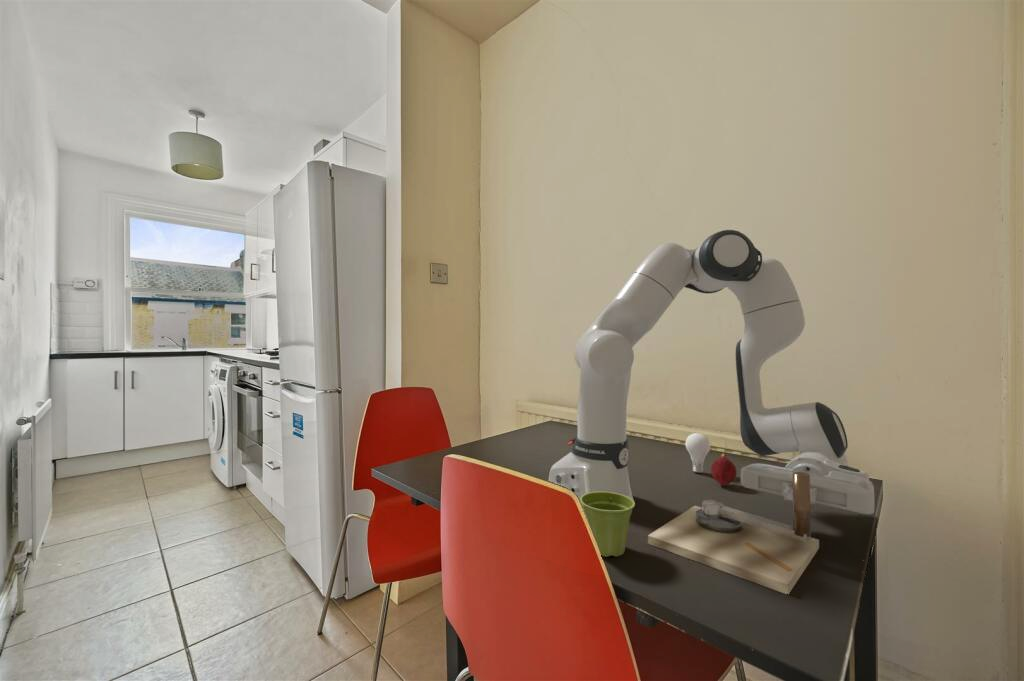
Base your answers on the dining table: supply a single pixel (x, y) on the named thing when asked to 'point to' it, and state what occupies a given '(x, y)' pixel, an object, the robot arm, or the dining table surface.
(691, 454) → the lightbulb
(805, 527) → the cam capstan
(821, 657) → the dining table surface
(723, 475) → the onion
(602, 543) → the plant pot
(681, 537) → the stand
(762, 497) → the dining table surface
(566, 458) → the robot arm
